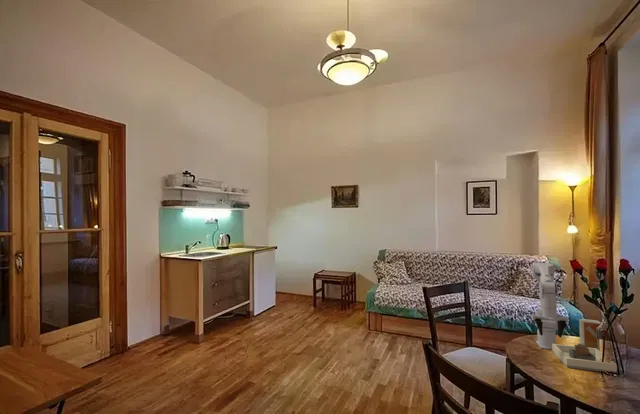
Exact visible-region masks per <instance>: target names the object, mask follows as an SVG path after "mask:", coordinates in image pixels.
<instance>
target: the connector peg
mask: <svg viewBox="0 0 640 414" xmlns="http://www.w3.org/2000/svg"><path fill="white" fill-rule="evenodd" d="M574 346H575V354H576V355H582V356H589V349H588V348H589V347H588V348H587V347H586V346H585V345H584V344H581V343H580V342H579V343H578V344H574Z"/></svg>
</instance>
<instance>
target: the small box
mask: <svg viewBox="0 0 640 414" xmlns="http://www.w3.org/2000/svg"><path fill="white" fill-rule="evenodd" d="M578 321H579V323H578V324H579V325H578V326H579V343H580V344H584V345H585V346H586V347H588V348H596V349H598V345H597V329H596V327H598V326H599V325H600V323H602V322H601V321H599V320H597V319H596V320H595V319H585V318H584V319H583V318H579V319H578Z"/></svg>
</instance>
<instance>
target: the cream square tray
mask: <svg viewBox="0 0 640 414" xmlns="http://www.w3.org/2000/svg"><path fill="white" fill-rule="evenodd" d="M587 348H588V349H589V356H582V355H576V354H575V345H568V344H559V343H556V344H552V349H551V351H552V353H553V354H554V355H555V356H556V357H557V358H558V359H559V361H560V362H561V363H562V364H563V365H564V366H565V367H566V368H567V369H568V368H569V369H576V370H584V371H592V372H599V371H600V372H601V371H617V372H618V365H617V363H616V362H614V361H613V360H612V361H610V363H608V362H600V359H601V355H602V354H601V352H600V351H599V350H598V349H597V348H589V347H587ZM600 372H599V373H600ZM601 373H602V372H601Z"/></svg>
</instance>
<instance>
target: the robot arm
mask: <svg viewBox="0 0 640 414" xmlns="http://www.w3.org/2000/svg"><path fill="white" fill-rule="evenodd" d="M531 267H532V268H531V269H532V276H533V278H534V279H535V280H537V283H538V286H539V288H538V289H539V290H538V291H539V301H540V303H539V304H540V309H538V310H536V312H535V314H531V319H532V320H533V321H534V323H535V327H537V330H536V332H537V334H536V335H537V340H535V343H536V344H537V345H538V346H539V347H540V348H541V349H545V350H546V349H547V350H552V344H557V340H556V339H557V336H558V337H559V338H562V335H563V333H564V330H565V329H566V327H567V325H568V324H567V323H569V322H570V321H569V318H568V317H567V316H559V315H558V312H557V311H558V306H557V295H558V292H559V291H558V284H557V282H555V279H554V278H555V271H556V267H555V263H553V262H550V263H549V262H535V261H533V262H532V266H531ZM556 332H557V334H556ZM556 335H557V336H556Z"/></svg>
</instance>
